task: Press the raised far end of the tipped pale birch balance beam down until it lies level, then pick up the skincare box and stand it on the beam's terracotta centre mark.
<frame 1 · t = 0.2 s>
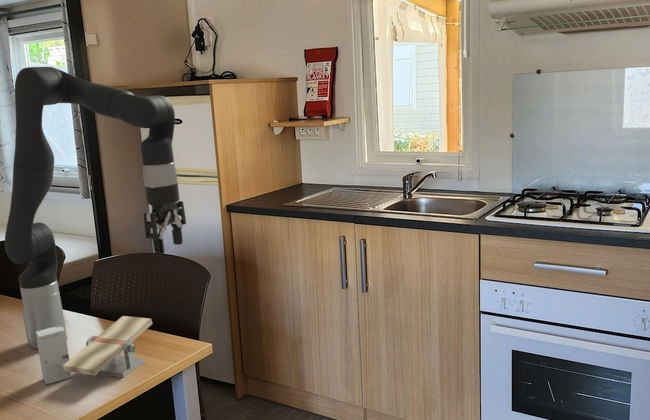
hand: (169, 249, 148), 28 cm above the table, fingers open, 8 cm apart
balance beam: (109, 343, 150), point 6 cm above the table, hinge at 9.0°
skincare box: (58, 378, 148), on the table
pivot stand: (113, 366, 151), on the table
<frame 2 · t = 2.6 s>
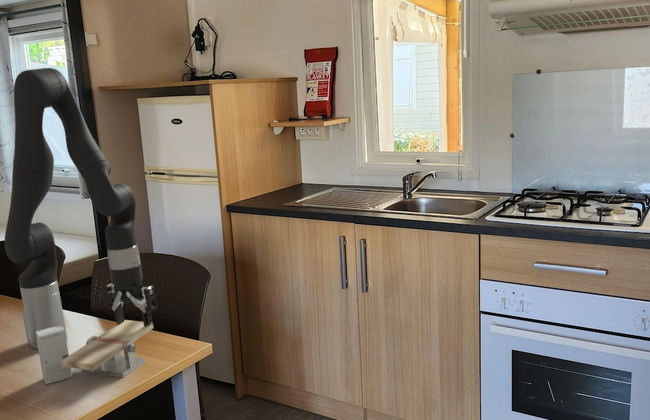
hand: (134, 324, 158), 7 cm above the table, fingers open, 8 cm apart
balance beam: (110, 343, 150), point 6 cm above the table, hinge at 2.5°, touching gripper
everything else where it was.
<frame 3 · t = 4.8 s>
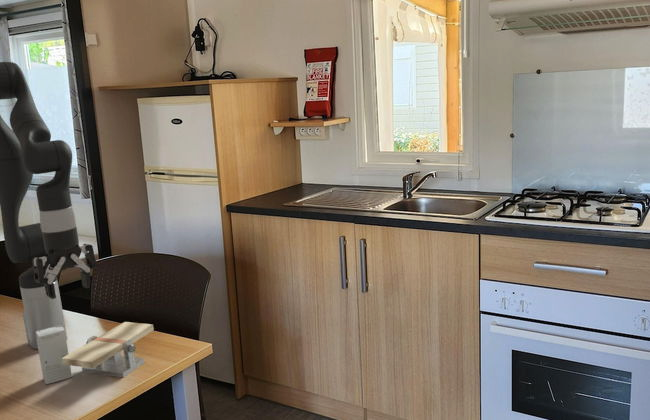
hand: (69, 292, 147), 20 cm above the table, fingers open, 8 cm apart
balance beam: (110, 343, 150), point 6 cm above the table, hinge at -0.4°
everything else where it was.
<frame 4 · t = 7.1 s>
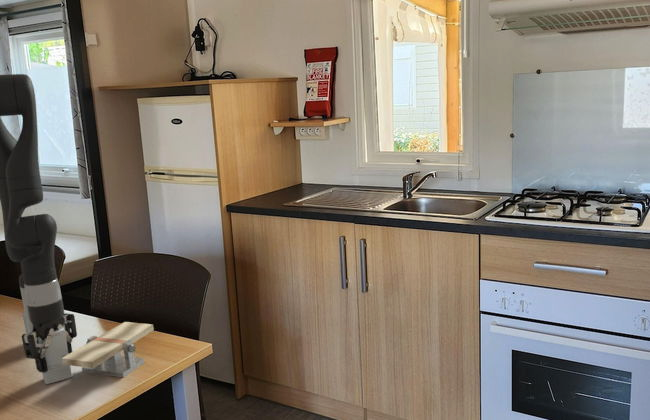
hand: (55, 364, 147), 3 cm above the table, fingers closed on skincare box, 7 cm apart
skincare box: (58, 378, 148), on the table, touching gripper
everything else where it was.
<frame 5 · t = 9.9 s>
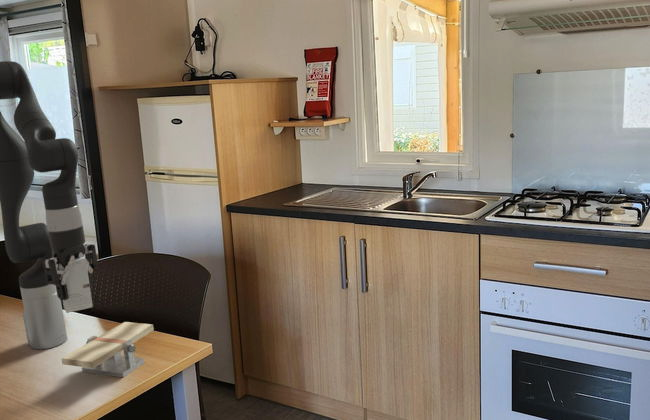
hand: (76, 293, 145), 20 cm above the table, fingers closed on skincare box, 7 cm apart
skincare box: (79, 308, 146), point 16 cm above the table, touching gripper
everything else where it was.
when the fingers open (11 cm above the table, at t = 12.5 s): skincare box stays where it is, resting on balance beam.
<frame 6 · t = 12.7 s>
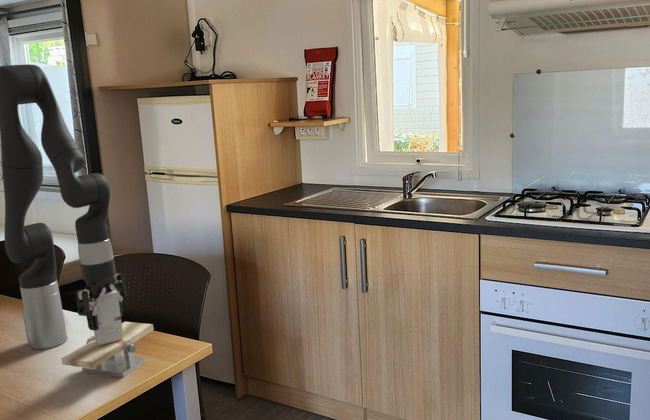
hand: (106, 322, 149), 12 cm above the table, fingers open, 8 cm apart
balance beam: (110, 343, 150), point 6 cm above the table, hinge at -0.1°, touching skincare box
skincare box: (109, 340, 150), point 7 cm above the table, touching balance beam
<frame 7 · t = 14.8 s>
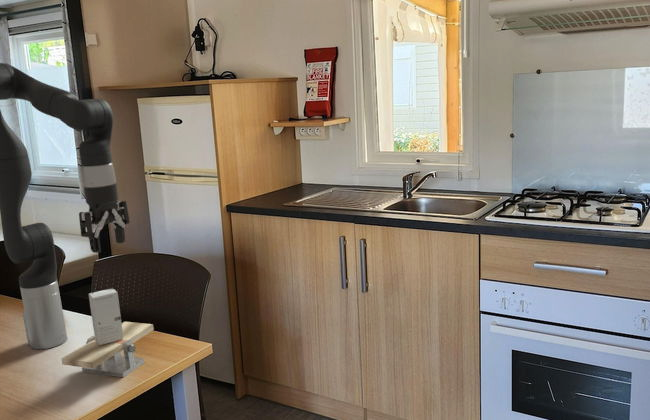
hand: (109, 247, 153), 28 cm above the table, fingers open, 8 cm apart
nothing on the table moved.
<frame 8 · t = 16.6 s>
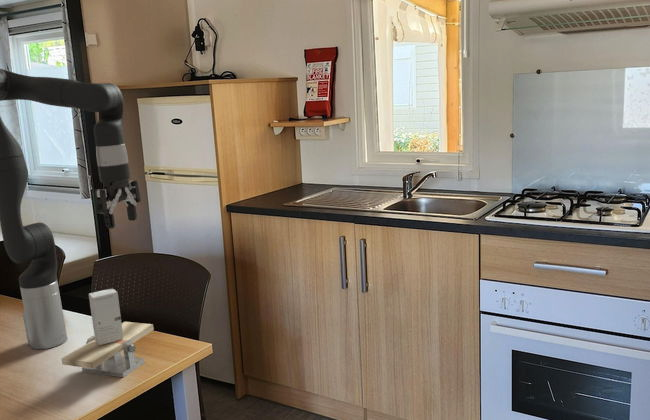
hand: (122, 224, 161), 32 cm above the table, fingers open, 8 cm apart
nothing on the table moved.
at the end: balance beam at +0° (first picture: +9°); skincare box 0.4 cm off-centre on the pivot stand, point 6.9 cm above the pivot stand's base; skincare box tilted 0° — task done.
